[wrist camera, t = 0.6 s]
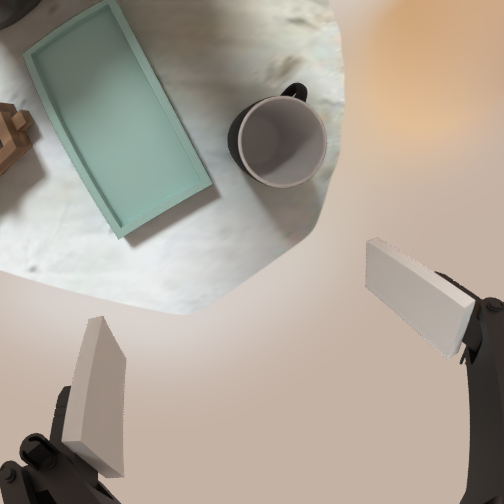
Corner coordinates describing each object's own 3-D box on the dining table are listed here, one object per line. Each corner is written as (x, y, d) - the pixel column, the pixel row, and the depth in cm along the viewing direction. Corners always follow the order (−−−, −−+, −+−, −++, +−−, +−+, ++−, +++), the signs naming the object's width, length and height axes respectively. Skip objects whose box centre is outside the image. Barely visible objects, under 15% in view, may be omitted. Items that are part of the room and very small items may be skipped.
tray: (28, 57, 22) (22, 54, 20) (115, 1, 23) (113, -6, 21) (121, 233, 35) (118, 239, 33) (210, 181, 35) (212, 183, 33)
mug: (269, 186, 38) (301, 203, 29) (206, 156, 34) (220, 163, 25) (310, 107, 35) (353, 102, 26) (251, 73, 31) (280, 53, 22)
